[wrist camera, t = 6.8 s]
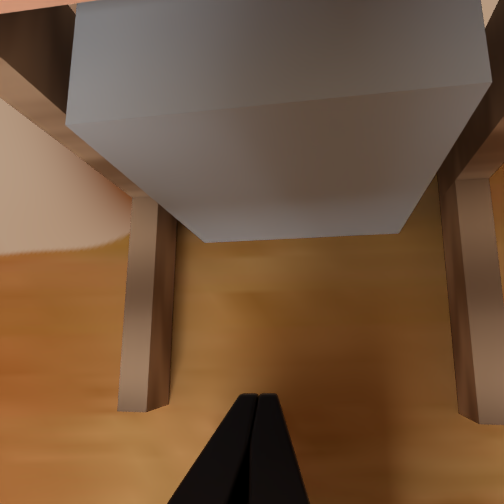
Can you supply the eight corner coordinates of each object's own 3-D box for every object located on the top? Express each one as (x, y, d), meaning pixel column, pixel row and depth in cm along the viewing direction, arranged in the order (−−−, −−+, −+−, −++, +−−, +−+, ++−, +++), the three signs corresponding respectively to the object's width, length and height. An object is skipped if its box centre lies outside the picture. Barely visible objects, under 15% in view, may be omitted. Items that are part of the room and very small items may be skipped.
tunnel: (491, 414, 21) (1081, 659, 5) (142, 403, 24) (-260, 526, 8) (461, 131, 24) (742, -323, 8) (157, 153, 27) (-103, -139, 11)
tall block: (398, 233, 24) (492, 81, 10) (204, 242, 25) (65, 124, 12) (386, 86, 26) (451, -204, 12) (207, 105, 27) (89, -129, 14)
